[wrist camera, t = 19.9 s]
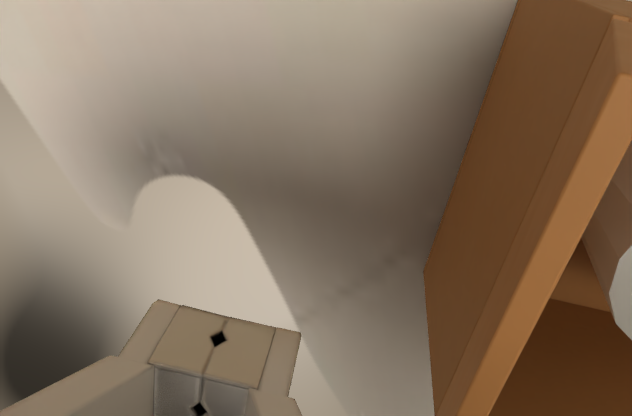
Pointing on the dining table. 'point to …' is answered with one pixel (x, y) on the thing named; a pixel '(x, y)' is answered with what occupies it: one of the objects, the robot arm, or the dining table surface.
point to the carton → (506, 218)
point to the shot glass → (614, 243)
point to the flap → (550, 226)
